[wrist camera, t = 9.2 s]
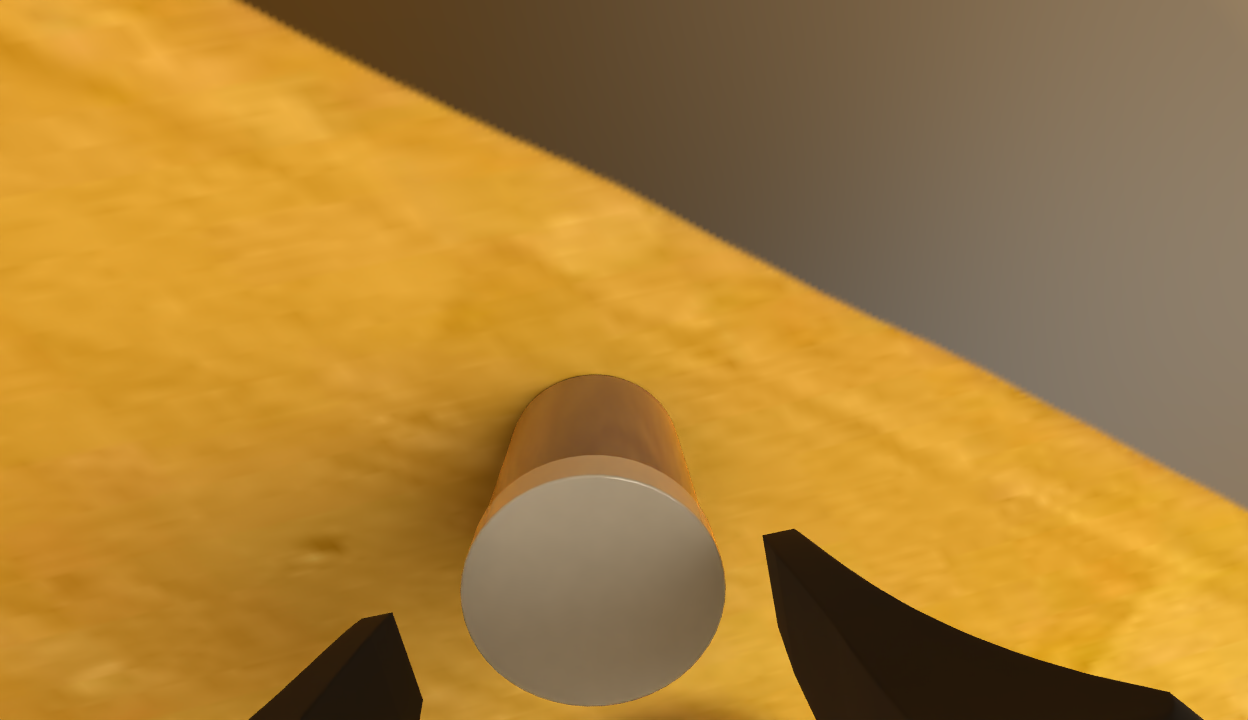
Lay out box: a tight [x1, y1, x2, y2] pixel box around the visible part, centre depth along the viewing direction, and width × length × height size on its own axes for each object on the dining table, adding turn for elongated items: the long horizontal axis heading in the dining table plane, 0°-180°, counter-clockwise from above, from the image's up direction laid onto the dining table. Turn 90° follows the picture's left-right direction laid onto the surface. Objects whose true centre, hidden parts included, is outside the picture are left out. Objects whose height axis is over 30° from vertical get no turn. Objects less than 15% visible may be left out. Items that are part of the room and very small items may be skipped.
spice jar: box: [460, 375, 726, 706], centre depth 16 cm, size 5×5×7 cm
